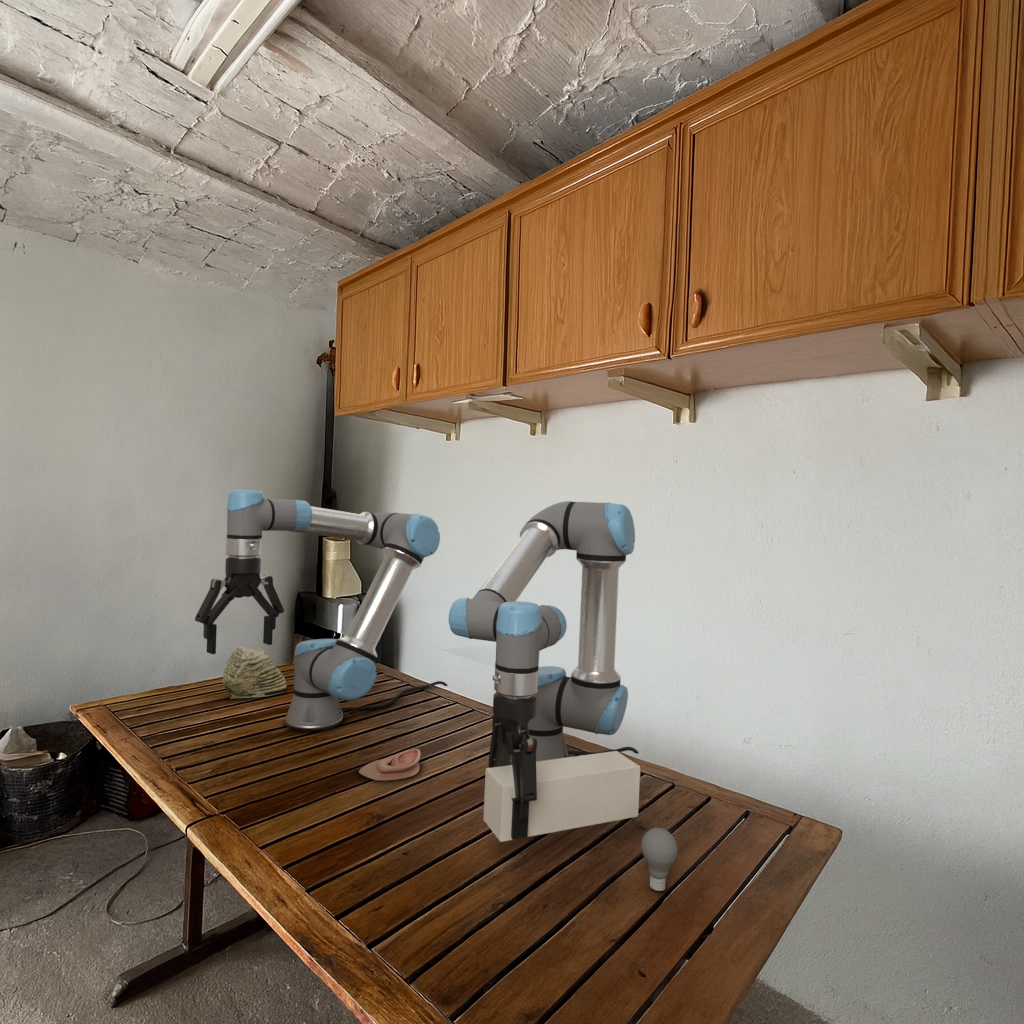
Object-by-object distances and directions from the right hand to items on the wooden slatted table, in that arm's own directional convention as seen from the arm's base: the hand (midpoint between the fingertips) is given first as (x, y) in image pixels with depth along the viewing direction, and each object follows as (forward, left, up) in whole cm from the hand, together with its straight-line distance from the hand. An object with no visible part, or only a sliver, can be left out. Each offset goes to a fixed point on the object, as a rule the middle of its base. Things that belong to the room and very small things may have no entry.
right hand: (509, 824), depth 109 cm
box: (-10, +1, -1) cm, 10 cm away
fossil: (+30, -116, -9) cm, 120 cm away
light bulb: (-21, +14, -9) cm, 27 cm away
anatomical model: (+7, -47, -9) cm, 48 cm away
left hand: (+39, -63, +19) cm, 76 cm away
